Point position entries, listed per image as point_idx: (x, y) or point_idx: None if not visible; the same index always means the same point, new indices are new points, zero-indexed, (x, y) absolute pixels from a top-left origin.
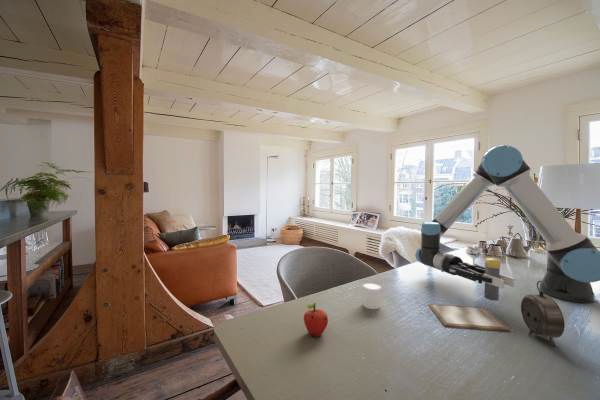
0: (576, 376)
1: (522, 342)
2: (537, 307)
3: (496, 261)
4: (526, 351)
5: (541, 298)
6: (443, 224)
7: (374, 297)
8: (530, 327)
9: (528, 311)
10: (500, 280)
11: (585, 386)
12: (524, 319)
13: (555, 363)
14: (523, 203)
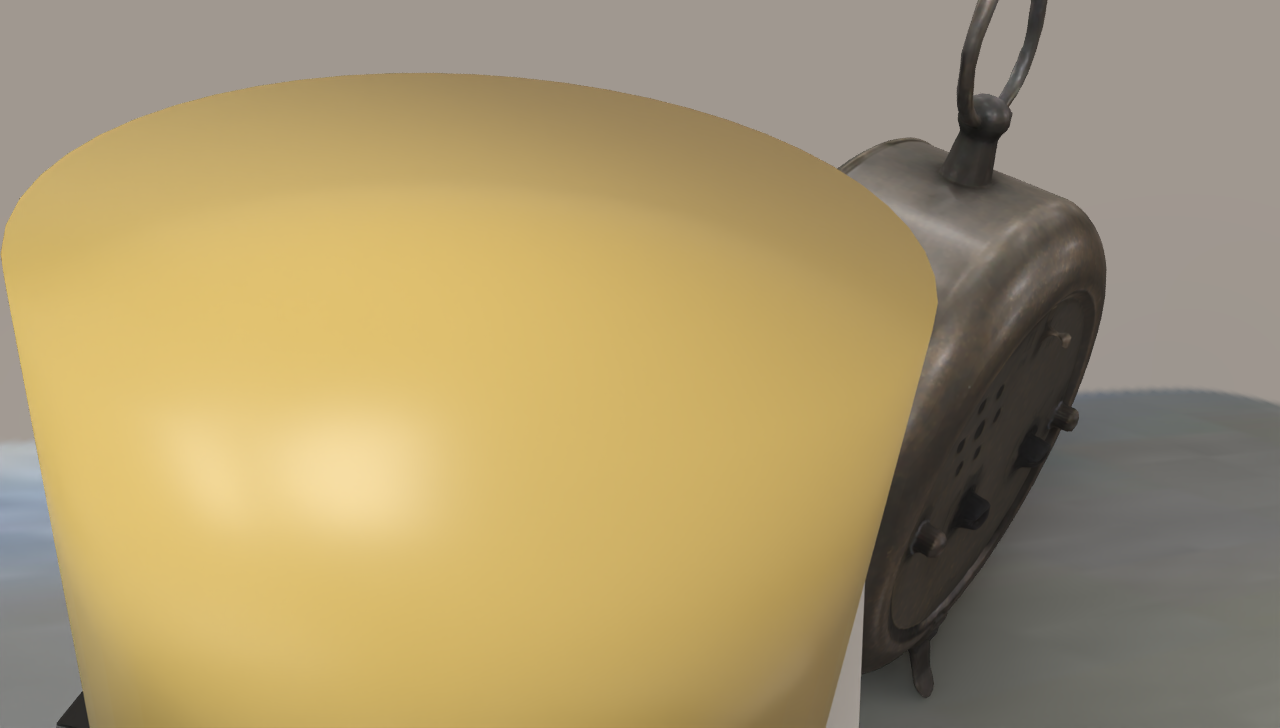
0: (1152, 434)
1: (1142, 695)
2: (1101, 287)
3: (715, 133)
4: (1255, 637)
5: (1024, 183)
6: None
7: None
8: (933, 612)
9: (974, 475)
10: None
11: (1198, 407)
12: (894, 637)
13: (1152, 506)
14: None
